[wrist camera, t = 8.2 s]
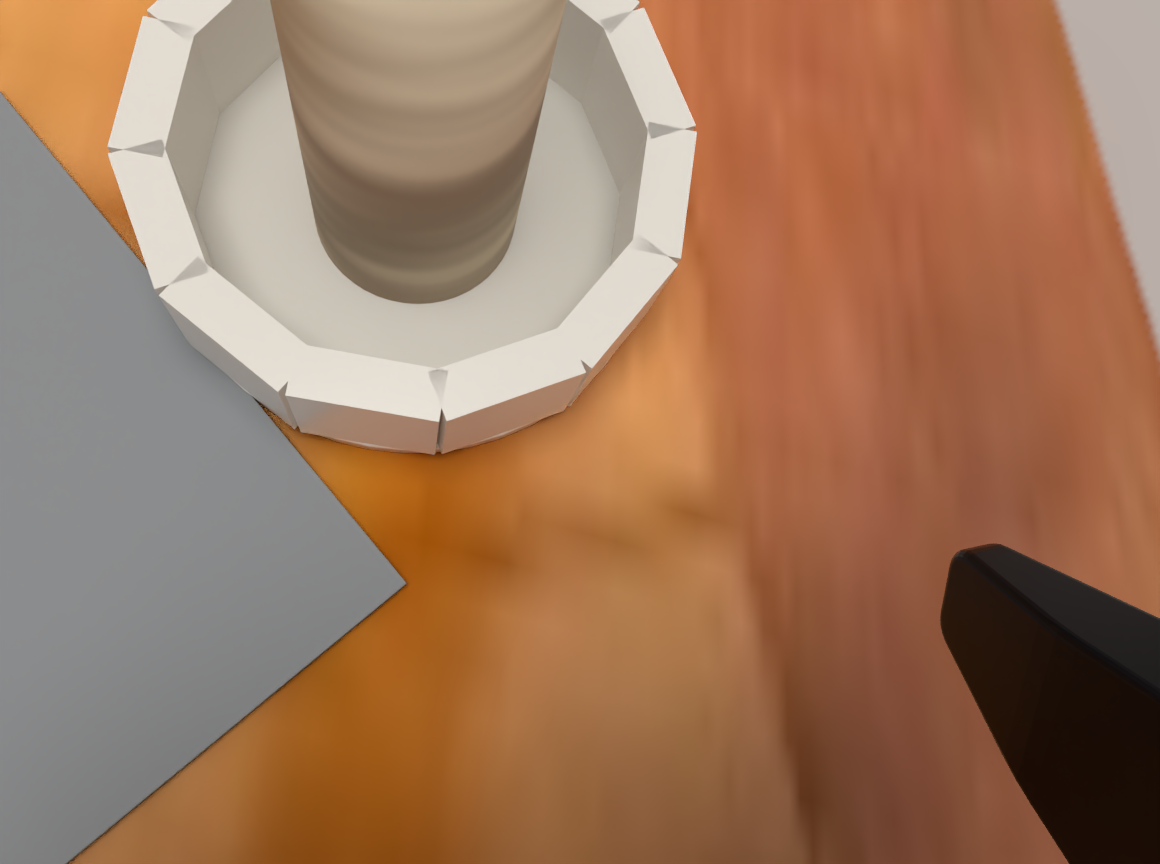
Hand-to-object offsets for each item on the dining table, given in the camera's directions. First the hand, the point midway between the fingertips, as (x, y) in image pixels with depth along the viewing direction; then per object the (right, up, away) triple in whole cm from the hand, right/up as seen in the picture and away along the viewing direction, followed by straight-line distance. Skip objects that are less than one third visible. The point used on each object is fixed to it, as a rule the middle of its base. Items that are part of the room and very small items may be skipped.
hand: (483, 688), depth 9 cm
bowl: (-3, +7, +15) cm, 17 cm away
